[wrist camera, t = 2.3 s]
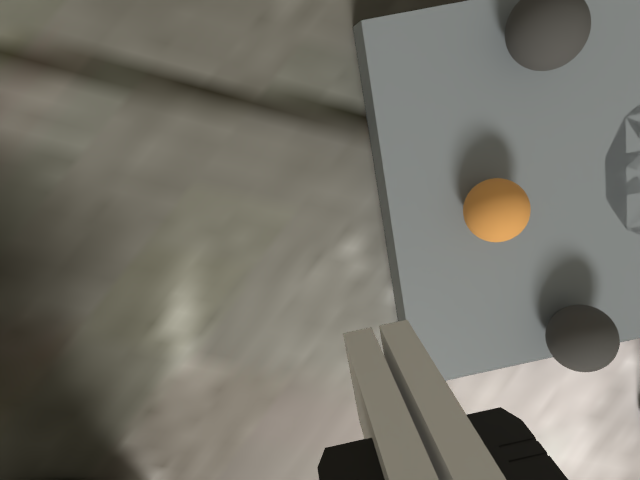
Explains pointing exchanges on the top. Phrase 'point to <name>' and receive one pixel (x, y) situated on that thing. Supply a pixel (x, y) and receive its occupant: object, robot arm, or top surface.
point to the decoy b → (582, 338)
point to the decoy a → (547, 32)
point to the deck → (504, 176)
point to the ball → (496, 210)
